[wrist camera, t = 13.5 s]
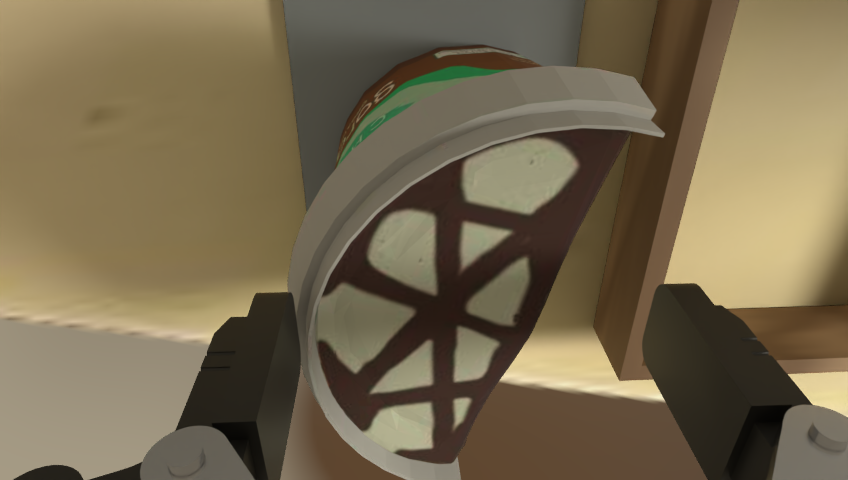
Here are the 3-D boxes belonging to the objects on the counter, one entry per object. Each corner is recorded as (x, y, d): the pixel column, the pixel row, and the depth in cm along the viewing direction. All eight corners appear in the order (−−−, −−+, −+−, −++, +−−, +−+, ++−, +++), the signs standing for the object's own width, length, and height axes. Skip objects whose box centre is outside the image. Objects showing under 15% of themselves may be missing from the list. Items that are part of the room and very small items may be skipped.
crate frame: (1094, -71, 19) (1223, -66, 16) (888, 316, 28) (948, 367, 25) (673, -73, 19) (728, -67, 16) (593, 327, 27) (619, 380, 24)
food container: (353, -57, 18) (365, 3, 9) (532, 8, 19) (680, 108, 11) (274, 266, 23) (236, 483, 15) (416, 294, 25) (455, 504, 17)
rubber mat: (587, -45, 19) (591, -44, 19) (543, 280, 26) (545, 285, 25) (279, -46, 18) (278, -45, 18) (316, 287, 25) (315, 292, 25)
